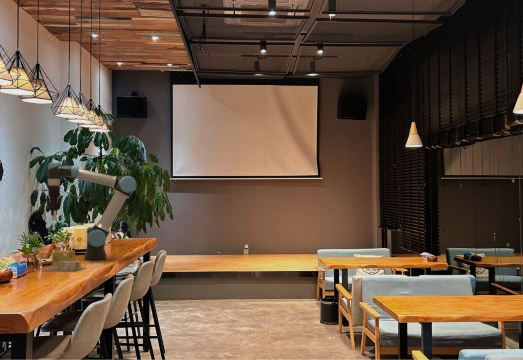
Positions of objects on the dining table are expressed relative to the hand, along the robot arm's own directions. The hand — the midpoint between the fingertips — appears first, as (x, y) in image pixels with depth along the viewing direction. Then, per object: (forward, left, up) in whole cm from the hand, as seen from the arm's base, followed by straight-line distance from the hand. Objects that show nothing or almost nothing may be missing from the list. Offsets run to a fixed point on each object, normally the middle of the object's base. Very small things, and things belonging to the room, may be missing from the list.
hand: (54, 220), depth 335 cm
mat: (+13, +29, -29) cm, 44 cm away
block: (+14, +27, -26) cm, 40 cm away
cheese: (+2, +13, -30) cm, 32 cm away
